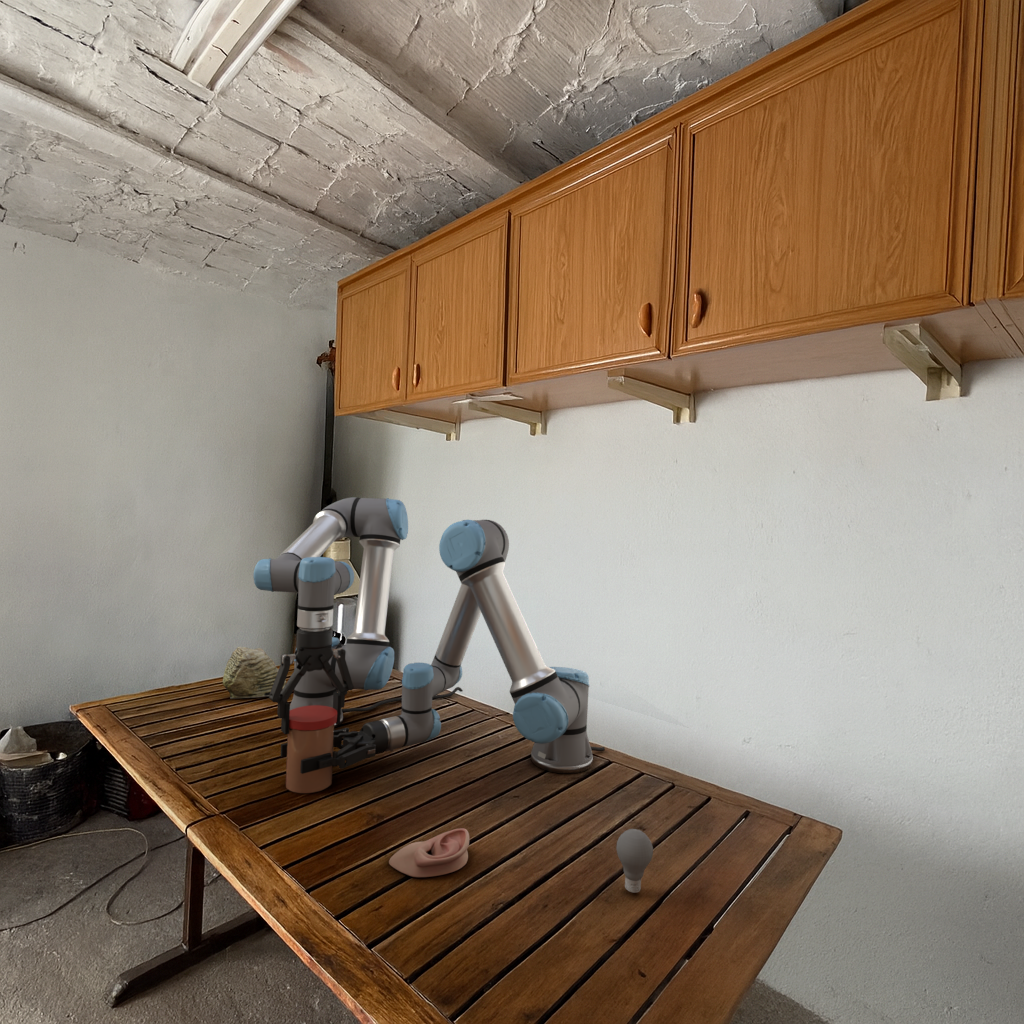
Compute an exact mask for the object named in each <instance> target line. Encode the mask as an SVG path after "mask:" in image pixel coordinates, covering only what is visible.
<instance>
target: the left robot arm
mask: <svg viewBox="0 0 1024 1024" xmlns="http://www.w3.org/2000/svg"><path fill="white" fill-rule="evenodd" d="M408 534H409V518H408V512H407V508H406V505H405V504H404V502H403V501H402V500H400V499H395V498H388V497H386V498H379V497H378V498H376V497H375V498H374V497H356V496H353V497H346V498H343V499H339V500H337V501H335V502H332V503H331V504H329V505H327V506H326V507H324V508H323V509H322V510H320V511H319V512H317V514H316V515H315V516H314V518H313V521H312V524H311V525H309V526H308V528H306V529H305V530H304V531H303V532H302V533H301V534H300V535H299V536H298V537H297V538H296V539H294V541H293V542H291V544H289V546H288V547H287V548H285V549H284V550H283V551H282V552H281V553H280V554H279V555H278V556H277V557H276V558H263V559H259V560H258V561H257V563H256V564H255V566H254V570H253V583H254V585H255V587H256V588H257V590H260V591H265V592H266V591H267V592H271V593H274V592H278V593H298V596H297V598H298V599H297V616H296V617H297V620H296V626H297V627H298V629H297V630H296V643H295V644H296V647H295V651H294V653H291V654H290V653H289V654H286V653H282V654H281V655H280V665H279V668H278V669H279V670H278V673H277V676H276V678H275V681H274V684H273V686H272V689H271V692H270V694H269V696H268V699H269V700H270V701H271V702H273V703H277V711H276V713H277V714H276V715H277V717H278V718H279V719H280V731H281V732H282V733H283V734H284V735H288V734H289V715H290V710H292V709H295V708H298V707H303V706H312V705H320V706H328V707H332V708H334V709H335V710H337V722H336V723H335V724H334V729H335V728H337V727H339V726H340V725H342V723H343V722H344V714H343V713H351V712H353V713H354V712H355V713H356V712H368V711H371V710H372V711H373V710H374V709H375V708H377V707H379V706H382V705H386V704H390V703H396V702H402V696H401V697H395V698H389V699H385V700H380V701H378V702H376V703H374V704H372V705H370V706H367V707H349V708H345V704H346V703H345V701H346V696H347V694H348V692H349V691H352V690H353V689H354V690H364V691H370V690H371V691H373V690H375V691H378V690H382V689H383V688H384V687H385V686H386V685H387V684H388V682H389V680H390V677H391V675H392V672H393V668H394V663H395V650H394V648H393V647H391V646H390V640H389V639H388V637H387V636H386V624H387V615H388V609H389V608H388V607H389V606H388V605H389V597H390V589H391V580H392V571H393V564H394V563H393V562H394V554H395V551H396V550H397V549H399V548H400V546H401V541H403V540H406V539H407V537H408ZM347 537H349V538H351V537H352V538H353V537H355V538H359V541H358V543H359V544H360V545H361V547H362V549H363V553H362V559H361V560H362V561H361V568H360V576H359V585H358V592H357V593H358V594H357V601H356V609H355V616H354V624H353V631H352V633H351V634H350V635H348V636H347V638H346V643H345V644H341V641H340V639H339V638H338V637H334V636H333V632H334V631H333V629H332V627H333V625H334V603H335V602H334V601H335V596H336V595H340V594H343V593H344V592H346V591H348V589H351V587H352V586H353V583H354V581H355V572H354V569H353V567H352V566H351V565H350V564H349V563H347V562H345V561H342V560H340V561H339V560H338V561H337V560H334V558H332V557H328V556H327V557H326V556H322V555H323V554H324V553H326V551H327V550H328V549H329V548H330V547H331V545H332V544H333V543H334V542H338V541H340V540H342V539H343V538H347ZM293 662H294V669H293V672H292V674H291V675H290V677H289V678H288V680H286V679H287V677H288V675H289V672H290V667H291V665H292V664H293ZM285 680H286V685H285V686H284V688H283V685H284V682H285ZM282 688H283V689H282ZM281 690H282V691H281ZM463 691H464V690H463V689H462V688H461V687H460V686H456V687H454V689H453V690H452V691H451V692H449V693H446V694H437V695H435V696H434V697H432V700H436V699H445V698H449V697H453V695H454V694H456V692H460V693H461V692H462V693H463ZM292 694H293V695H292ZM291 695H292V696H293V697H292V699H291V702H288V700H289V698H290V697H291Z"/></svg>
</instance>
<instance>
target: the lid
mask: <svg viewBox="0 0 1024 1024" xmlns="http://www.w3.org/2000/svg"><path fill="white" fill-rule="evenodd" d="M336 722H337V710H335V709H334V708H332V707H328V706H320V705H312V706H303V707H298V708H295V709H292V710H290V715H289V728H292V729H296V730H318V729H323V728H327V727H330V726H332V725H334V724H335V723H336Z"/></svg>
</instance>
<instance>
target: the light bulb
mask: <svg viewBox="0 0 1024 1024" xmlns="http://www.w3.org/2000/svg"><path fill="white" fill-rule="evenodd" d="M615 849H616V854H617V857H618V859H619V861H620V863H621V865H622V867H623V873H624V874H623V875H624V876H625V878H624V888H625V890H627V891H628V892H630V893H634V894H635V893H639V892H640V891H641V889H642V887H641V886H642V879H643V877H644V875H645V871H646V868H647V867H648V866H649V864H650V863H651V861H652V859H653V855H654V847H653V843H652V841H651V838H649V836H648V835H647V834H646V833H645V832H643V831H642V830H641V829H636V828H629V829H627V830H625V831H623V832H622V833H621V834H620V835H619V837H618V839H617V841H616V847H615Z"/></svg>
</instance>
